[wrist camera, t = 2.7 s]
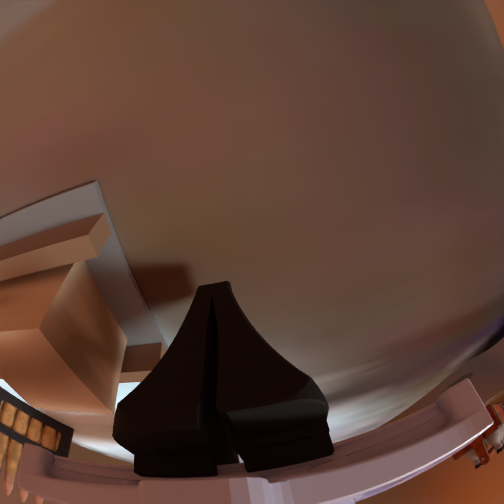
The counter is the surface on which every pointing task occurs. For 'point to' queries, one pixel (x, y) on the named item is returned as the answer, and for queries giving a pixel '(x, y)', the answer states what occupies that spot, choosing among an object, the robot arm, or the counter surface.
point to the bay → (96, 258)
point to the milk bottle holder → (486, 439)
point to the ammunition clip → (27, 436)
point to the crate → (60, 340)
